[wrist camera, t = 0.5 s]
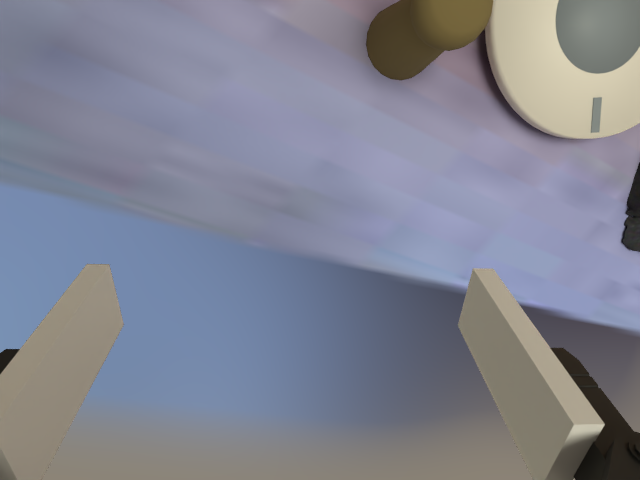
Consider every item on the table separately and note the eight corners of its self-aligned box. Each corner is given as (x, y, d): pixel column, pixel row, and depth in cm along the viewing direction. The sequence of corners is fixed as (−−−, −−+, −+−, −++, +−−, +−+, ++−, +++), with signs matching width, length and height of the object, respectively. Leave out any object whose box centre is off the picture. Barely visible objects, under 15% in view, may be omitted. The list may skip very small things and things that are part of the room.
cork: (422, 88, 38) (493, 62, 27) (358, 69, 36) (406, 33, 26) (441, 17, 37) (522, -39, 26) (376, -5, 35) (433, -74, 25)
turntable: (487, -111, 34) (499, -124, 32) (697, -102, 37) (717, -113, 36) (482, 145, 38) (493, 144, 37) (672, 133, 41) (688, 132, 40)
